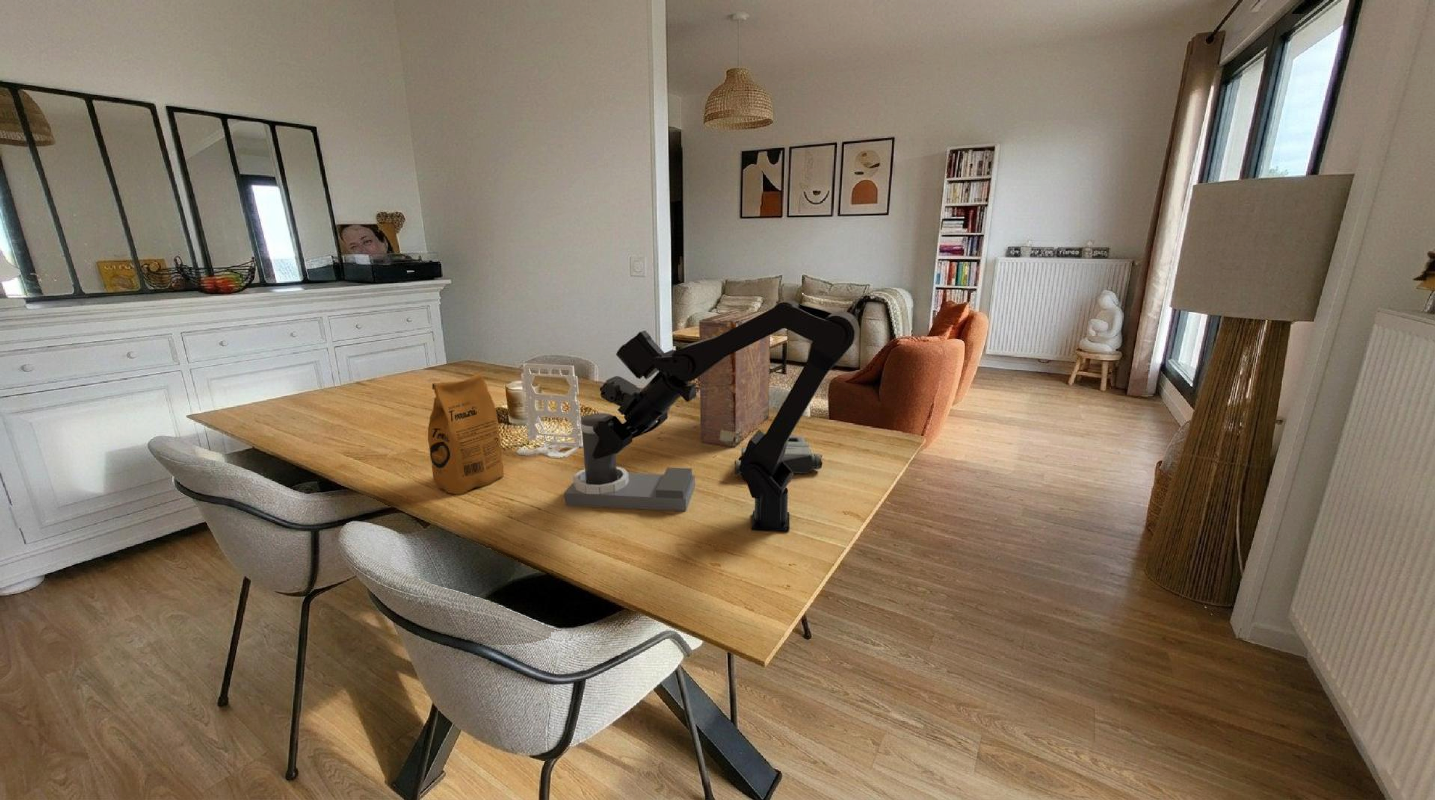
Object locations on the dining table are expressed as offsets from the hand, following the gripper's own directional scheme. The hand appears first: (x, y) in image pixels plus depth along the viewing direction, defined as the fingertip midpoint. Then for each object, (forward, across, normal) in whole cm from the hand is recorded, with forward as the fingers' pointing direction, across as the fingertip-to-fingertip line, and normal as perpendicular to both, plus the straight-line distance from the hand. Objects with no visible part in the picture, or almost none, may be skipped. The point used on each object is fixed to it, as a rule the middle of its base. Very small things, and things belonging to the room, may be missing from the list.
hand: (607, 448), depth 108 cm
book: (0, -46, +14) cm, 48 cm away
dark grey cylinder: (+6, 0, +4) cm, 7 cm away
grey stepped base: (+4, -2, +10) cm, 11 cm away
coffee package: (+29, +4, -15) cm, 33 cm away
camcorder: (-11, -27, +26) cm, 39 cm away
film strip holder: (+26, -19, -12) cm, 35 cm away
